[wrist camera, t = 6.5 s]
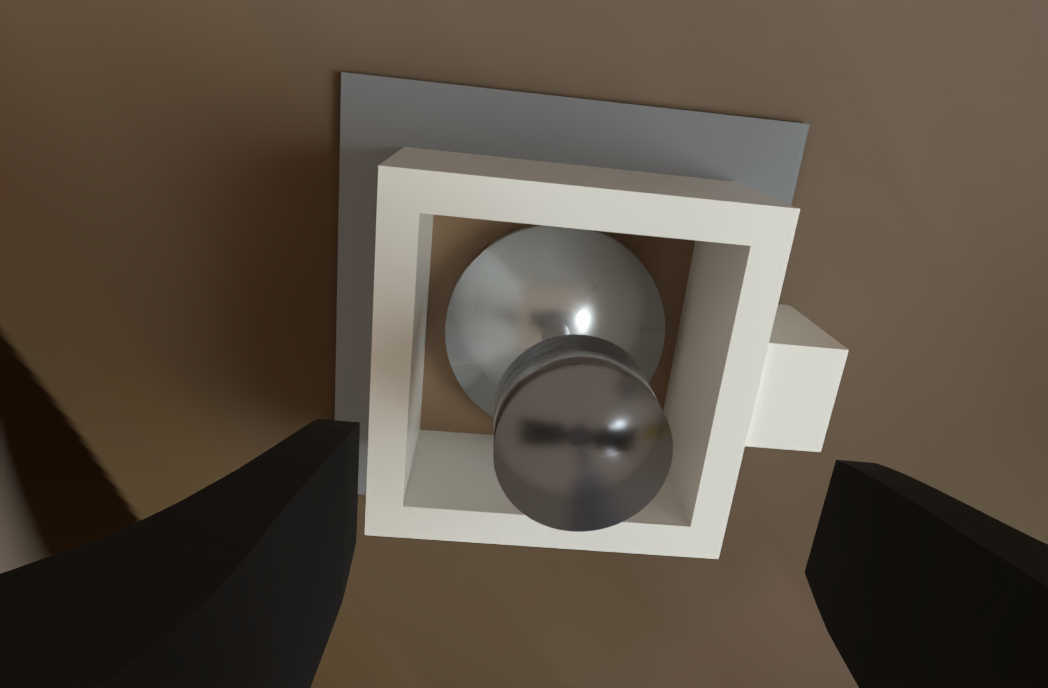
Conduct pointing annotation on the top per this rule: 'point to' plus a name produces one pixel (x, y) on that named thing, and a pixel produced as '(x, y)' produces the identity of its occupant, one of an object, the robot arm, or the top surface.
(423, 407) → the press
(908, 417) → the top surface
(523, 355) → the plunger
